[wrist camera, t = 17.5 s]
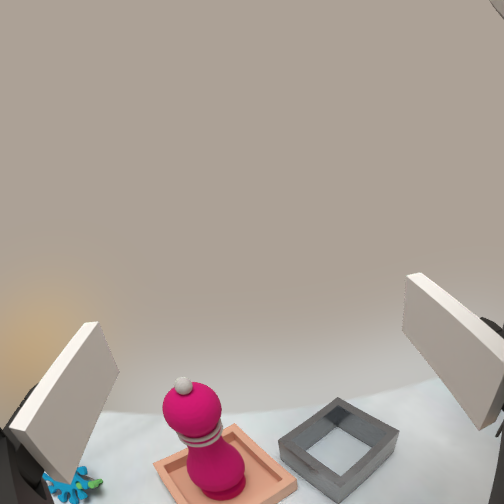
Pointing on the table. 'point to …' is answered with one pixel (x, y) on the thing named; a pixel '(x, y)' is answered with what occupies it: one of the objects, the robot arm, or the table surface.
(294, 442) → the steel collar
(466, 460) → the table surface
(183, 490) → the terracotta tray
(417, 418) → the table surface
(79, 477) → the blue bumpy piece
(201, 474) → the pepper mill
